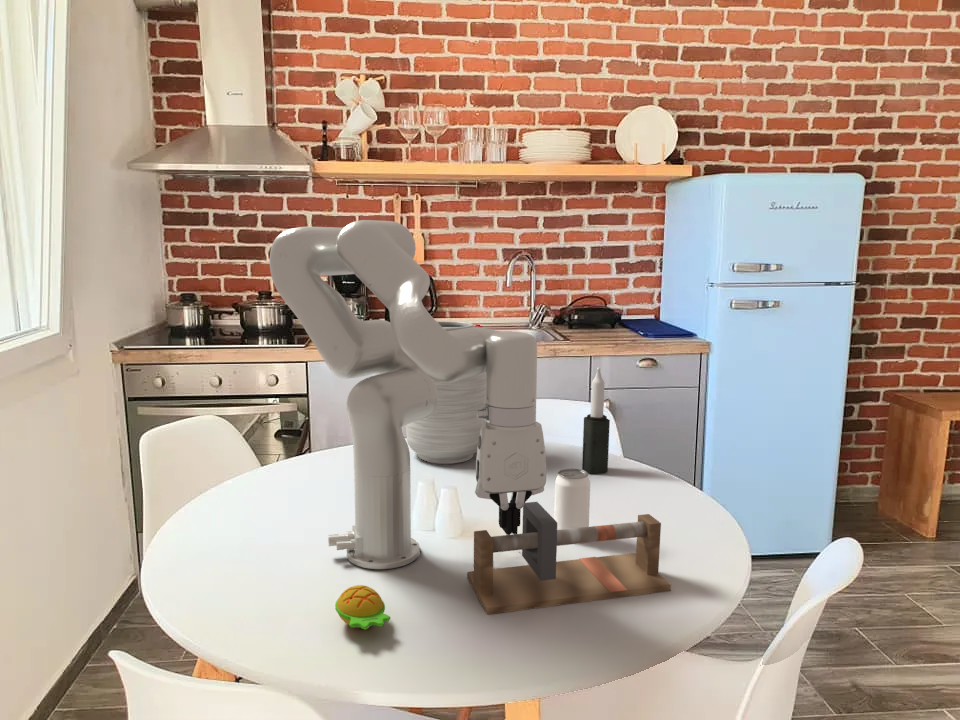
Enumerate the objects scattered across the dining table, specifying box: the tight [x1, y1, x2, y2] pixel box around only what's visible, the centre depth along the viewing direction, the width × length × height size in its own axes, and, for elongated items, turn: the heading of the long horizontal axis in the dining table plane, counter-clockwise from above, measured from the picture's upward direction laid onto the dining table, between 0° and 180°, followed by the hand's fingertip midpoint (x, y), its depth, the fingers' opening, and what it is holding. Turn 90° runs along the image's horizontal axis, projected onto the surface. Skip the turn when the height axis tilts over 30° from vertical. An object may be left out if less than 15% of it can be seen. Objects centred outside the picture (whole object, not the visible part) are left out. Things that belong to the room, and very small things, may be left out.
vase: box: [405, 320, 486, 465], centre depth 180 cm, size 20×20×34 cm
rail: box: [466, 513, 672, 615], centre depth 114 cm, size 30×12×10 cm, turn 105°
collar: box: [521, 501, 558, 581], centre depth 113 cm, size 2×9×9 cm, turn 15°
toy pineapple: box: [334, 584, 391, 630], centre depth 101 cm, size 7×10×5 cm
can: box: [553, 468, 591, 530], centre depth 133 cm, size 6×6×12 cm
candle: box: [581, 367, 611, 475], centre depth 170 cm, size 5×5×25 cm
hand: (509, 530), depth 111 cm, fingers closed
